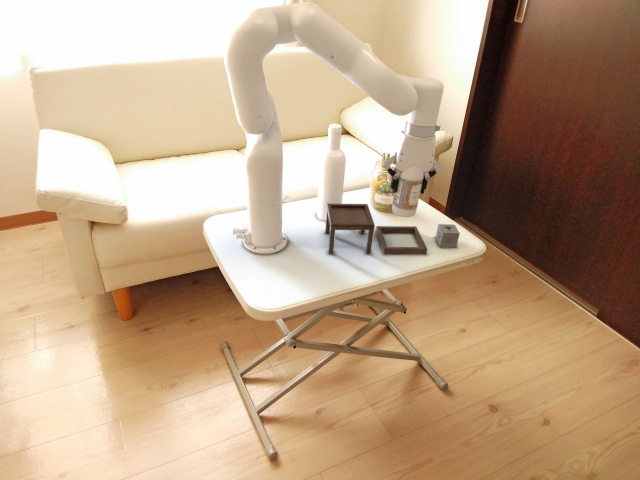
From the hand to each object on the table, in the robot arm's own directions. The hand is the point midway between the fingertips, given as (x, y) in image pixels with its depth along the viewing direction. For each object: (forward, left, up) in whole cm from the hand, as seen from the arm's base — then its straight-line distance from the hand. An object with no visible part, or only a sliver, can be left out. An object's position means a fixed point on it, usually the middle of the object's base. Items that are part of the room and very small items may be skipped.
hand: (407, 190), depth 126 cm
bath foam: (0, 0, -7) cm, 7 cm away
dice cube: (+15, 0, -17) cm, 23 cm away
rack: (-7, 0, -17) cm, 19 cm away
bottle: (-20, +16, -17) cm, 31 cm away
